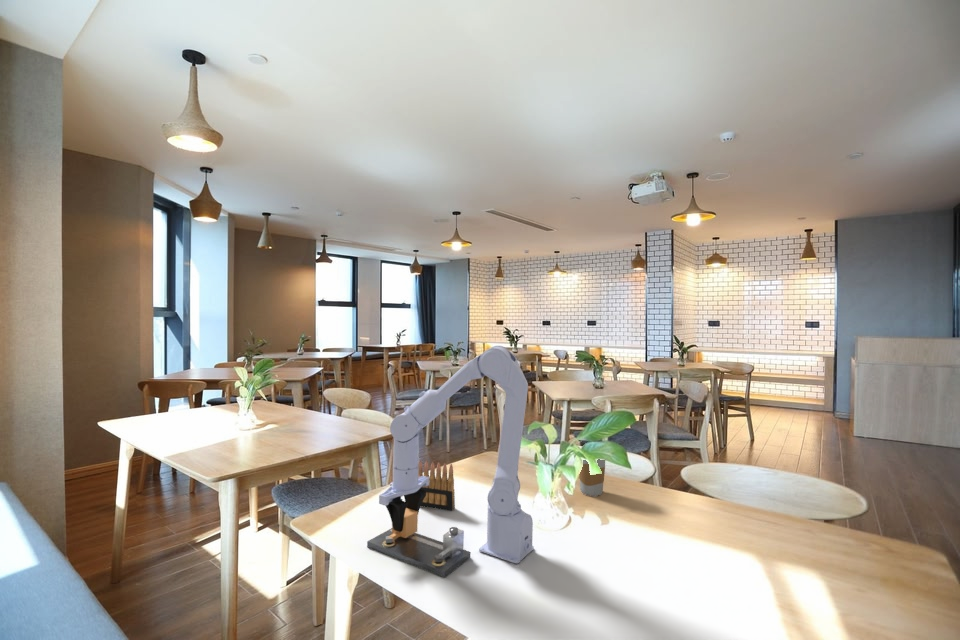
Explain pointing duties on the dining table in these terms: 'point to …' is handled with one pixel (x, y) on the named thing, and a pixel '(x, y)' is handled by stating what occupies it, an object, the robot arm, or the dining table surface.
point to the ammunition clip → (438, 487)
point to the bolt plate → (425, 550)
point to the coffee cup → (591, 478)
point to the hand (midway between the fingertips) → (404, 526)
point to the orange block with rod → (405, 526)
